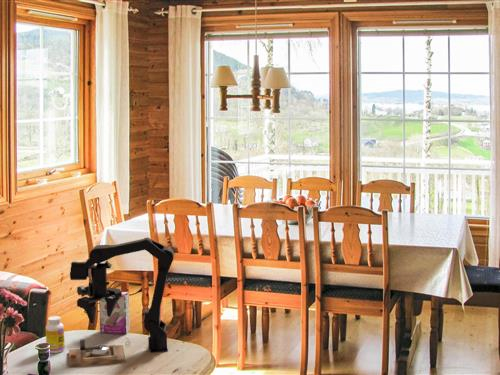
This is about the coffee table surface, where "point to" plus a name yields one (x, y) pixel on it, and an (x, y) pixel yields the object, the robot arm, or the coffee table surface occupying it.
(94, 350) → the crank wheel
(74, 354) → the board
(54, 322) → the supplement bottle
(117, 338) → the coffee table surface
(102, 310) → the candy bar box
